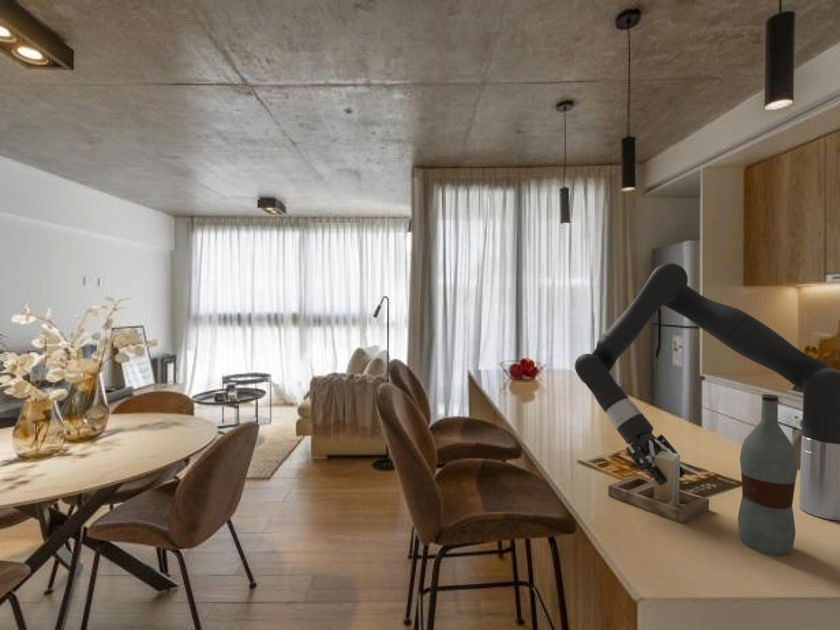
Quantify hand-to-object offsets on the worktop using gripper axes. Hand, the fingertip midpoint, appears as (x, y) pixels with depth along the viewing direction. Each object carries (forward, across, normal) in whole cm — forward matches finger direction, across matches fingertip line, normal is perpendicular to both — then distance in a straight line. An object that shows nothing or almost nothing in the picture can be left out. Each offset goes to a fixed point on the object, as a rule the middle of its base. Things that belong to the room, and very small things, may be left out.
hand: (673, 479), depth 112 cm
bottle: (+18, -2, -9) cm, 21 cm away
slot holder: (+2, 0, +7) cm, 8 cm away
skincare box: (+4, 0, +6) cm, 7 cm away
